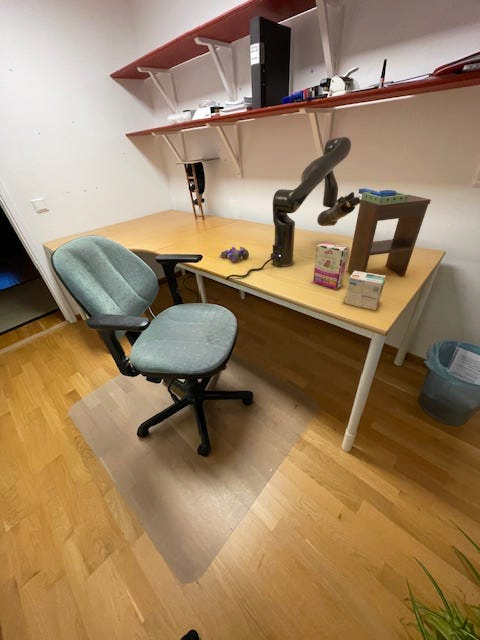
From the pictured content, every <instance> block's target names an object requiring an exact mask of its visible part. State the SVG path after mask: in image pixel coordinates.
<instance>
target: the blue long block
mask: <svg viewBox="0 0 480 640" xmlns="http://www.w3.org/2000/svg"><path fill="white" fill-rule="evenodd" d="M380 191H381V192H380ZM380 191H377V190H374V189H369V188H366V187H365V188H363V187H362V188H359V189H358V194H359V195H361V194H362V193H363V192H371V194H372V195H376V196H380V197H389V196H396V192H398V191H397V190H393V189H384V191H382V190H380Z"/></svg>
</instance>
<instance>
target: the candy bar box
mask: <svg viewBox="0 0 480 640" xmlns="http://www.w3.org/2000/svg"><path fill="white" fill-rule="evenodd" d="M349 251H350V247H349V246H346V245H341V244H335V243H331V242H326V241H323V242H321V243H319V244H317V245H316V252H315V261H314V273H313V282H312V283H315V284H317V285H321V286H323V287H327V288H330V289H334V290H339V288H341V287H342V286H343V285H344V280H345V279H344V278H345V272H346V267H347V261H348V256H349Z"/></svg>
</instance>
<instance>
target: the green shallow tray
mask: <svg viewBox="0 0 480 640" xmlns="http://www.w3.org/2000/svg"><path fill="white" fill-rule="evenodd" d="M384 190H385V189H384ZM384 190H382V189H381V190H379V192H381V191H384ZM408 195H409V194H408ZM408 195H407V194H406V193H403V192H398V191H397V192H396V196H389V197H380V196H376V195H372V194H371V192H363V193H362V198H361V197H360V199H362V200H365V201H368V202H371V203H375V204H378V205H386V204H395V203H404V202H407V198H408Z"/></svg>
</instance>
